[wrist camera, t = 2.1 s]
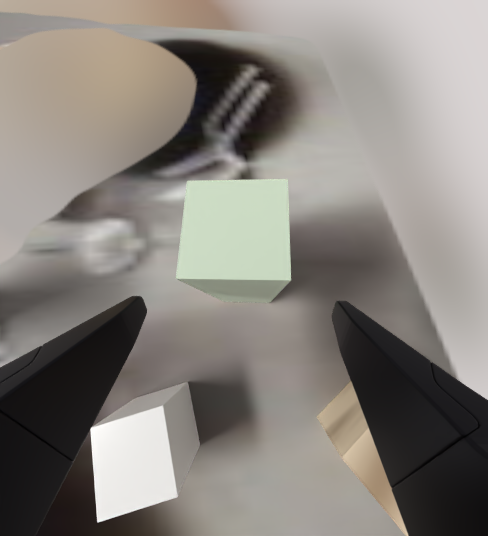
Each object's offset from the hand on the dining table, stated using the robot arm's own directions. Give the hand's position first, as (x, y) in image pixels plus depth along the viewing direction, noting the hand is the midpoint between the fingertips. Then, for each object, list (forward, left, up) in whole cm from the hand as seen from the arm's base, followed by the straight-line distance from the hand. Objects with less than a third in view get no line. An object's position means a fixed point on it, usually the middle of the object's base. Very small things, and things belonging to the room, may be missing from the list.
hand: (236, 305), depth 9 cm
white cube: (-5, +11, -10) cm, 16 cm away
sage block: (+3, -1, -10) cm, 11 cm away
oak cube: (-12, -5, -10) cm, 17 cm away
